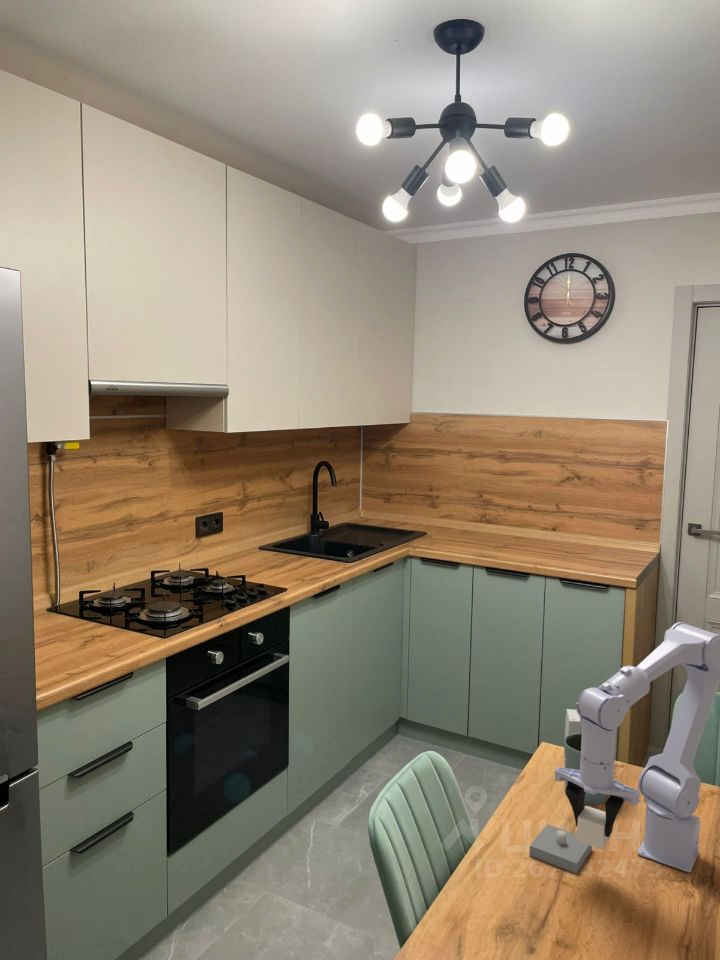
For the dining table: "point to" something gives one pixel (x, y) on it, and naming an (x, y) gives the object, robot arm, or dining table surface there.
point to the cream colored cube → (592, 827)
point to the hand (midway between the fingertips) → (593, 829)
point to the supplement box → (572, 723)
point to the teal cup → (578, 764)
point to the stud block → (559, 848)
